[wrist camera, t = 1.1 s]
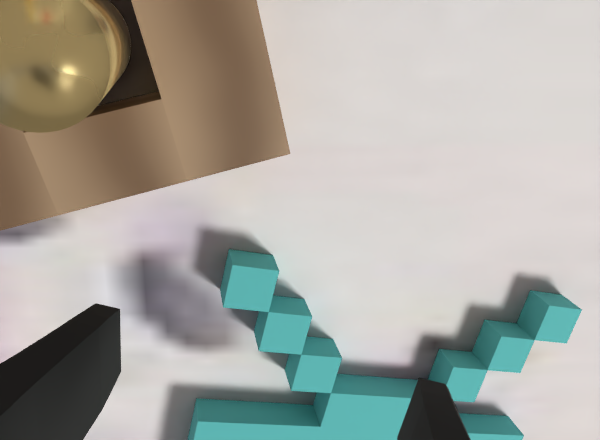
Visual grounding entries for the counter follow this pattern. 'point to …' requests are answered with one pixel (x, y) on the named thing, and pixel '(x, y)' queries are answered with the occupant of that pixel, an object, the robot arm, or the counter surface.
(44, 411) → the robot arm
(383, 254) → the counter surface
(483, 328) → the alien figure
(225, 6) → the socket block
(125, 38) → the pin
